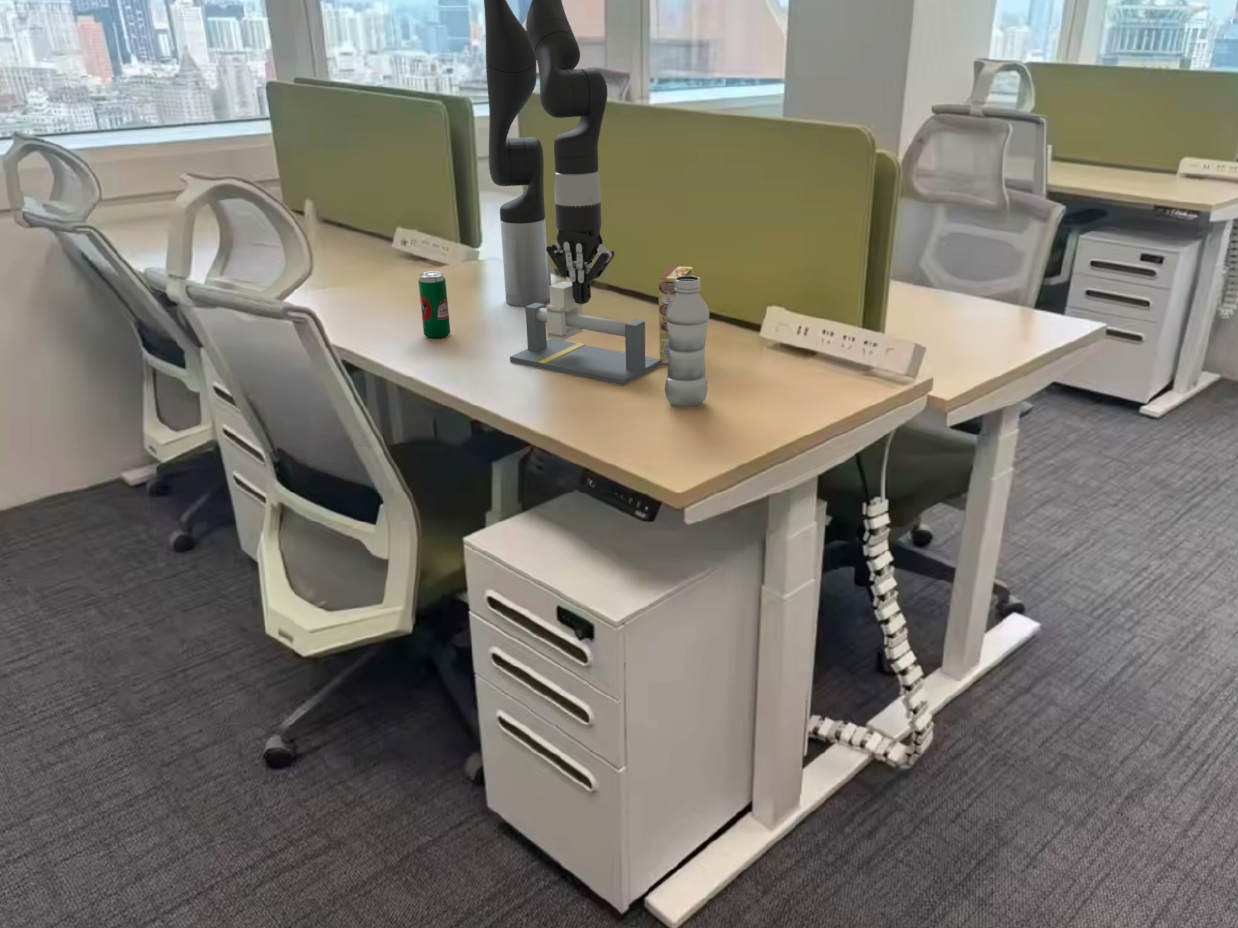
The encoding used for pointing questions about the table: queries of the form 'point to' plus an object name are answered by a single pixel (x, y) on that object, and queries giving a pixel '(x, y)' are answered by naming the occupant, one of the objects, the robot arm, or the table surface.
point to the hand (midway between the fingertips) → (581, 302)
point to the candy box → (665, 299)
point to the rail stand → (586, 348)
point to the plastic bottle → (687, 344)
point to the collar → (561, 311)
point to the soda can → (434, 305)
